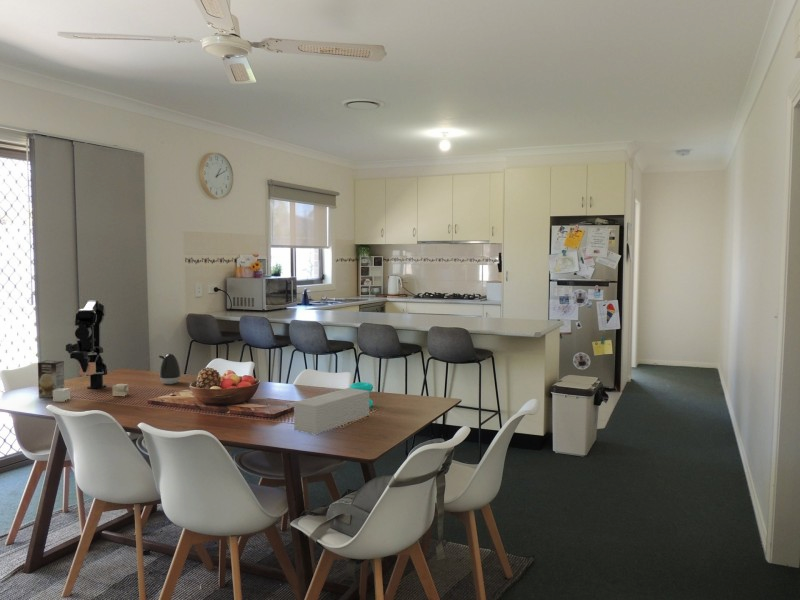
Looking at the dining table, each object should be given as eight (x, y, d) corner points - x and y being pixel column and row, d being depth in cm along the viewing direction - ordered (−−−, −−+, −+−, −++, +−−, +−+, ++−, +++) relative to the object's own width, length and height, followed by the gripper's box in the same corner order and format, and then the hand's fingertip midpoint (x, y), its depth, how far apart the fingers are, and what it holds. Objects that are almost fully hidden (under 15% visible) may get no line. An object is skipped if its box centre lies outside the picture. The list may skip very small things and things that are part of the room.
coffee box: (37, 397, 288) (36, 362, 287) (46, 394, 295) (45, 360, 294) (56, 397, 288) (55, 362, 286) (65, 394, 294) (64, 360, 293)
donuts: (361, 380, 278) (377, 383, 272) (361, 403, 279) (377, 406, 272) (344, 384, 271) (361, 387, 264) (344, 407, 272) (361, 410, 265)
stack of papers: (315, 435, 229) (315, 406, 228) (294, 430, 235) (293, 402, 234) (369, 417, 255) (369, 390, 255) (348, 413, 261) (348, 387, 261)
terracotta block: (85, 372, 291) (84, 362, 290) (95, 373, 291) (95, 362, 290) (79, 374, 286) (79, 364, 285) (90, 375, 286) (90, 364, 285)
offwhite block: (59, 399, 286) (58, 388, 285) (70, 399, 286) (69, 388, 285) (52, 401, 281) (52, 390, 280) (64, 401, 281) (63, 390, 280)
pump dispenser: (162, 381, 326) (161, 352, 325) (183, 381, 327) (182, 352, 326) (156, 385, 316) (156, 355, 315) (178, 385, 317) (177, 355, 316)
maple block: (117, 394, 295) (117, 384, 295) (128, 394, 295) (128, 384, 295) (112, 396, 290) (112, 386, 290) (123, 397, 290) (123, 386, 290)
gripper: (79, 334, 297) (80, 367, 298) (57, 339, 278) (58, 374, 279) (103, 334, 296) (104, 367, 297) (82, 339, 278) (83, 375, 279)
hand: (87, 371), depth 288 cm, fingers closed on terracotta block, 5 cm apart
